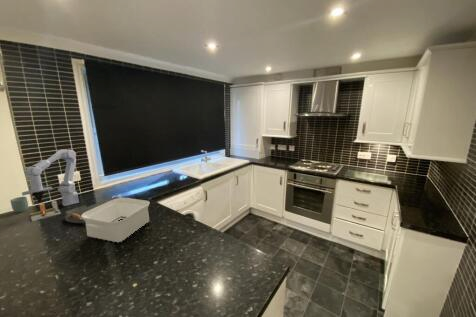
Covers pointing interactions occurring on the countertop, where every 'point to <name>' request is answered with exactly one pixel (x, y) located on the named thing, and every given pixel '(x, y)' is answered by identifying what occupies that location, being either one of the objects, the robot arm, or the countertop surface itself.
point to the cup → (19, 204)
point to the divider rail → (54, 205)
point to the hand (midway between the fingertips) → (39, 201)
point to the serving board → (76, 215)
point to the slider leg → (42, 208)
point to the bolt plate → (48, 214)
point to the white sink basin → (116, 219)
